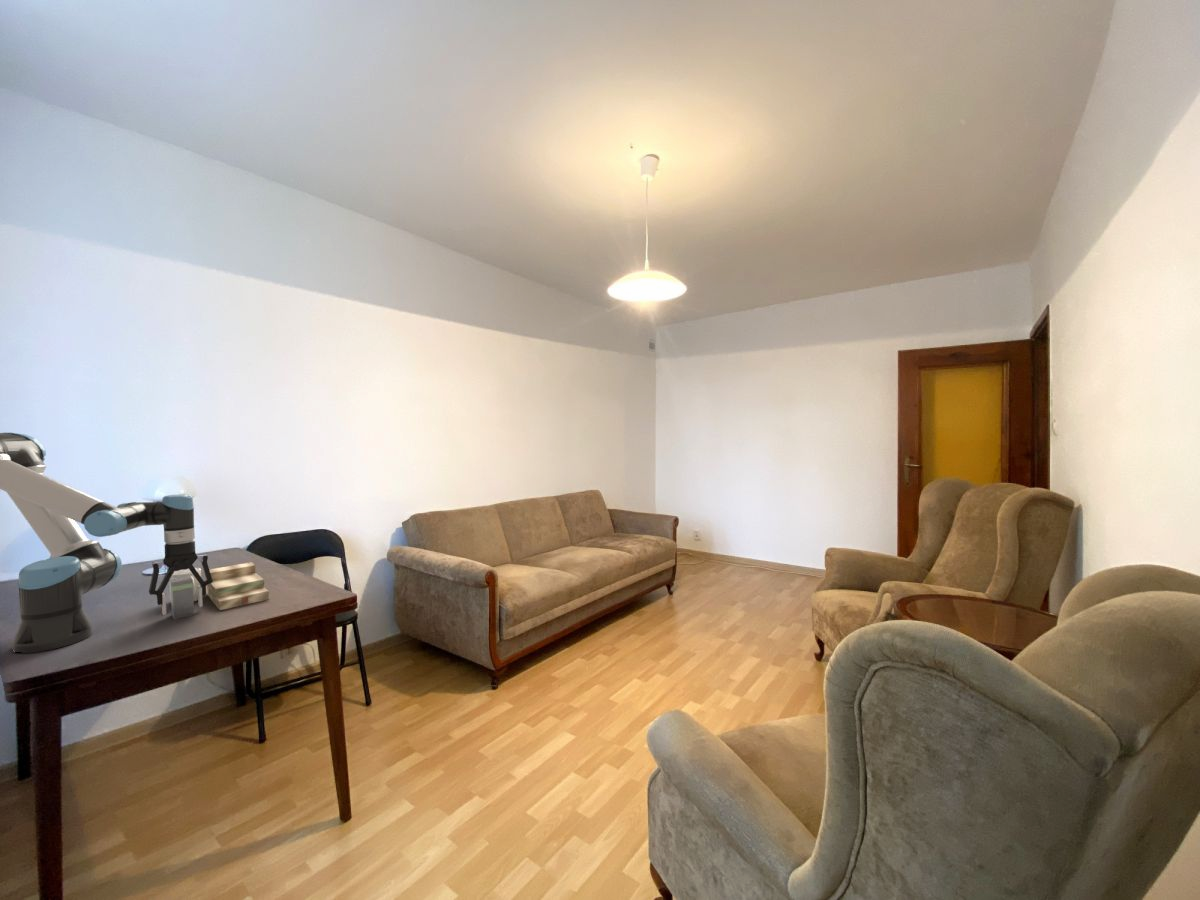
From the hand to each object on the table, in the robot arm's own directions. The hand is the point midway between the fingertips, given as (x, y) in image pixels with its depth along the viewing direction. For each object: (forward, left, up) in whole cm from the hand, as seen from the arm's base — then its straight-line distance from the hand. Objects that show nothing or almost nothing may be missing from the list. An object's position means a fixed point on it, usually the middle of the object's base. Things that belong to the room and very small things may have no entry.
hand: (182, 609), depth 156 cm
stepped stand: (+16, +8, -2) cm, 18 cm away
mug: (+3, +15, -2) cm, 16 cm away
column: (0, 0, -2) cm, 2 cm away
